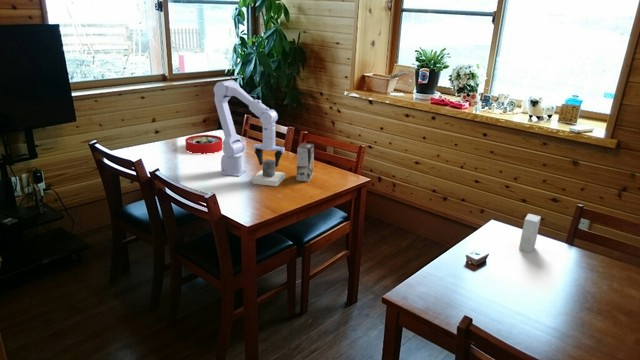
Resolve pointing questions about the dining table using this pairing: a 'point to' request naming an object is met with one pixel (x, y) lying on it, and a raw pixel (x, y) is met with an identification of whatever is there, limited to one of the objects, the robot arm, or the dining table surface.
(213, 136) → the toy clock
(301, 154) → the coffee box
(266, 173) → the block
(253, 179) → the plinth
